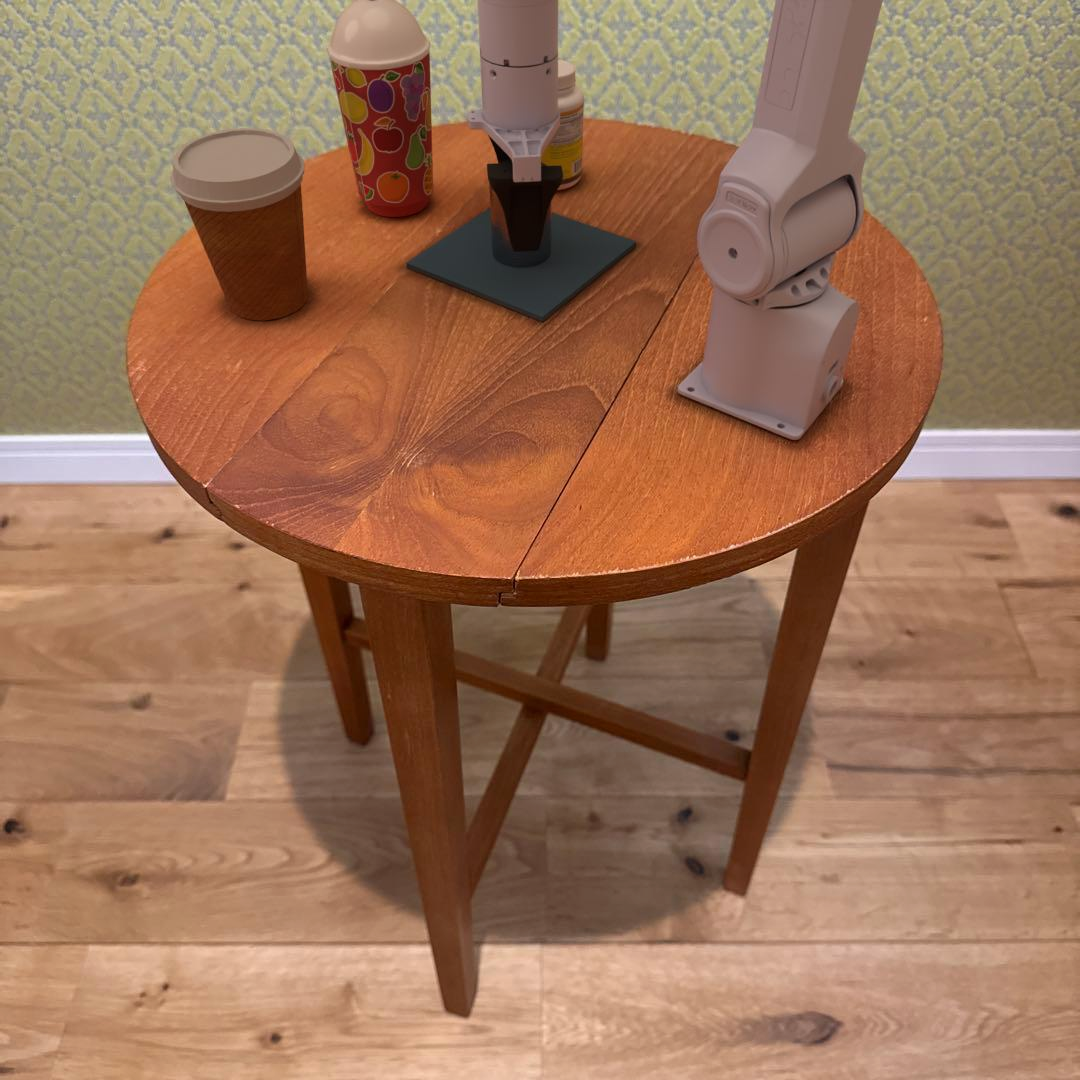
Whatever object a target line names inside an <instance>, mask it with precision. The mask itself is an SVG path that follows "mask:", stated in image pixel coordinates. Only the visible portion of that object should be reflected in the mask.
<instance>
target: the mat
mask: <svg viewBox="0 0 1080 1080" xmlns="http://www.w3.org/2000/svg"><path fill="white" fill-rule="evenodd" d="M635 248H637V241H636V240H633V239H630V238H629V237H624V236H621V235H619V234H616V233H614V232H610V231H607V230H605V229H601V228H598V227H596V226H593V225H590V224H588V223H587V224H586V223H584V222H581V221H579V220H575V219H572V218H570V217H567V216H564V215H560V214H557V213H554V212H552V211H551V255H550V257H549V258H548V259H547V260H546V261H544V262H543V263H541V264H538V265H535V266H531V267H512V266H507V265H504V264H502V263H500V262H498V261H497V260H496V259H495V258H494V256H493V254H492V236H491V214H490V207H488V208H487V209H485V210H483V211H482V212H481V213H479V214H478V215H476V216H474V217H473V218H472V219H470V220H469V221H467V222H466V223H464V224H462V225H460V226H459V227H458V228H457V229H455V230H453V231H452V232H450V233H449V234H448V235H446V236H444V237H443V238H442V239H440V240H438V241H436V242H435V243H434V244H433V245H431V246H429V247H428V248H426V249H424V250H423V251H422V252H420V253H419V254H417V255H416V256H414V257H413V258H411V259H410V260H408V261H406V263H405V264H406V268H407V269H408V270H411V271H414V272H416V273H419V274H422V275H424V276H426V277H429V278H432V279H433V280H436V281H439V282H442V283H445V284H447V285H449V286H452V287H454V288H457V289H459V290H462V291H464V292H467V293H470V294H471V295H475V296H477V297H479V298H481V299H484V300H487V301H488V302H489V301H490V302H492V303H494V304H496V305H499V306H501V307H504V308H506V309H509V310H511V311H514V312H516V313H519V314H521V315H524V316H526V317H529V318H532V319H534V320H536V321H539V322H542V323H543V322H545V321H547V319H548V318H550V317H551V316H552V315H553V314H555V312H557V311H558V310H560V309H561V308H562V307H563V306H564V305H565V304H567V303H568V302H569V301H570V300H572V299H573V298H574V297H575V296H577V295H578V294H580V293H581V292H582V291H583V290H584V289H586V287H588V286H589V285H590V284H591V283H593V282H594V281H595V280H596V279H598V278H599V277H600V276H601V275H603V274H604V273H605V272H606V271H607V270H609V269H610V268H611V267H612V266H614V265H615V264H616V263H617V262H619V261H620V260H621V259H622V258H623V257H625V256H626V255H627V254H629V253H630V252H631V251H632V250H634V249H635Z"/></svg>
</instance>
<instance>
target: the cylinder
mask: <svg viewBox="0 0 1080 1080" xmlns="http://www.w3.org/2000/svg"><path fill="white" fill-rule="evenodd" d="M499 163H512V160H511V159H510V160H505V161H502V162H499ZM541 166H547V165H546V164H544V163H542V162H541ZM488 187H489V188H488V189H489V191H488V192H489V208H490V214H491V236H492V254H493V256H494V258H495V259H496V260H497V261H498V262H500V263H502V264H504V265H507V266H512V267H531V266H535V265H538V264H541V263H543V262H544V261H546V260H547V259H548V258H549V257H550V255H551V212H552V202H551V203H550V206H549V209H548V212H547V216H546V221H545V226H544V231H543V236H542V240H541V244H540V247H539V250H537V251H521V252H514V251H513V249H512V246H511V243H510V239H509V235H508V230H507V225H506V220H505V216H504V212H503V209H502V206H501V203H500V201H499V199H498V197H497V195H496V193H495V192H494V190H493V189H492V187H491V185H490V183H489V182H488Z"/></svg>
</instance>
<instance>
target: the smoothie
mask: <svg viewBox="0 0 1080 1080" xmlns="http://www.w3.org/2000/svg"><path fill="white" fill-rule="evenodd" d="M430 49H431V41H430V40H429V39H428V37H427V35H425V34H424V32H423V30H422V28H421V26H420V24H419V22H418V21H417V19H416V18H415V16H414V15H413V14H412V12H411V11H410V10H409V9H408V8H407V7H406V6H405V5H403V4H402V3H400V2H399V1H397V0H354V1H352V2H351V3H350V4H349V5H347V6H346V7H345V8H344V9H343V11H342V12H341V13H340V15H339V16H338V18H337V20H336V23H335V25H334V27H333V32H332V34H331V40H330V41H329V43H328V44H327V47H326V52H327V54H328V57H329V63H330V68H331V72H332V77H333V82H334V86H335V91H336V95H337V100H338V104H339V109H340V115H341V118H342V119H341V120H342V123H343V128H344V133H345V137H346V142H347V146H348V152H349V157H350V160H351V165H352V166H351V167H352V171H353V174H354V179H355V185H356V189H357V193H358V195H359V198H360V199H362V200H363V201H364V202H365V204H366V207H367V210H369V211H370V212H371V213H373V214H375V215H378V216H381V217H388V218H403V217H408V216H411V215H414V214H417V213H419V212H421V211H422V210H424V209H425V207H426V206H428V204H429V196H430V195H431V194H432V193H433V191H434V167H433V166H434V165H433V163H434V162H433V129H432V128H433V127H432V124H433V123H432V122H433V121H432V90H431V89H432V88H431V56H430V54H431V53H430Z"/></svg>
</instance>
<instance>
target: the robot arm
mask: <svg viewBox="0 0 1080 1080" xmlns="http://www.w3.org/2000/svg"><path fill="white" fill-rule="evenodd" d="M476 2H477V18H478V22H477V23H478V40H479V41H478V42H479V59H480V60H479V64H480V81H481V83H480V85H481V100H482V101H481V104H482V108H480V109H471V110H469V111H467V127H468V129H471V130H475V131H476V130H481V131H483V132H485V133H486V135H487V136H488V138H489V141H490V142H491V145H492V147H493V150H494V153H495V156H496V160H497V163H495V162H493V163H487V164H486V170H487V171H486V174H487V180H488V184H489V183H490V185H491V187H492V189H493V190H494V192H495V193H496V195H497V197H498V199H499V201H500V203H501V206H502V209H503V212H504V216H505V220H506V225H507V230H508V235H509V239H510V243H511V246H512V249H513V251H514V252H521V251H537V250H539V247H540V244H541V240H542V236H543V231H544V226H545V221H546V216H547V212H548V209H549V206H550V203H551V204H552V201H553V198H554V197H555V195H556V194H557V191H559V190H558V188H559V187H560V185H561V182H562V179H563V171H562V166H561V165H559V166H541V156H542V154H543V152H544V151H545V149H546V148H547V146H548V144H549V143H550V141H551V139H552V138H553V136H554V134H555V133H556V131H557V129H558V128H559V126H560V111H559V109H558V60H559V0H477V1H476ZM883 3H884V0H775V3H774V7H773V13H772V19H771V24H770V30H769V34H768V40H767V44H766V45H767V46H766V51H765V55H764V61H763V66H762V72H761V78H760V84H759V88H758V94H757V99H756V105H755V110H754V116H753V121H752V127H751V129H750V130H749V132H748V133H747V135H746V136H745V138H744V139H743V141H742V142H741V143H740V145H739V146H738V148H736V150H735V152H734V153H733V155H732V156H731V158H730V159H729V160H728V162H727V163H726V165H725V166H724V167H723V169H722V170H721V172H720V174H719V178H718V184H717V189H716V193H715V196H714V199H713V201H712V202H711V204H710V205H709V207H708V208H707V209H706V210H705V212H704V213H703V215H702V217H701V218H700V220H699V224H698V227H697V232H696V233H697V234H696V244H697V245H696V246H697V253H698V256H699V257H698V258H699V259H700V264H701V266H702V268H703V270H704V272H705V274H706V275H707V276H708V278H709V284H710V285H711V286H712V287H713V291H712V297H711V303H710V304H711V305H710V311H709V318H708V326H707V331H706V339H705V345H704V346H705V347H704V352H703V359H702V361H701V362H700V363H699V364H697V366H696V367H695V368H694V369H693V370H692V371H691V372H690V373H689V374H688V375H687V376H686V377H685V378H684V379H683V380H682V381H681V382H680V383H679V384H678V385H677V393H678V394H679V395H681V396H684V397H685V398H688V399H691V400H693V401H695V402H698V403H700V404H703V405H705V406H708V407H710V408H712V409H715V410H718V411H720V412H722V413H725V414H727V415H730V416H733V417H735V418H736V419H737V418H738V419H739V420H742V421H745V422H747V423H750V424H752V425H754V426H757V427H759V428H761V429H765V430H766V431H769V432H772V433H774V434H776V435H778V436H781V437H784V438H786V439H789V440H790V441H797V440H800V439H801V438H802V437H803V436H804V435H805V434H806V432H807V431H808V430H809V428H810V427H811V426H812V424H813V423H814V422H815V421H816V420H817V418H818V417H819V416H820V414H821V413H822V412H823V411H824V409H825V408H826V407H827V406H828V404H829V403H830V402H831V401H832V399H833V398H834V397H835V396H836V395H837V393H838V392H839V391H840V390H841V388H842V387H843V384H844V379H843V376H844V373H845V369H846V365H847V361H848V357H849V354H850V350H851V346H852V343H853V340H854V335H855V332H856V328H857V325H858V324H857V323H858V321H859V316H860V302H859V301H857V300H855V299H854V298H852V297H850V296H848V295H846V294H845V293H843V292H842V291H840V290H839V289H838V288H836V286H834V285H833V284H832V283H831V282H830V281H829V280H830V279H829V278H830V272H831V270H832V269H833V266H834V262H835V257H836V254H837V252H838V251H840V250H842V249H844V248H845V247H846V246H848V245H849V244H850V243H851V242H852V241H854V239H855V238H856V236H857V235H858V233H859V231H860V229H861V227H862V223H863V221H864V216H865V215H864V214H865V201H864V196H863V195H864V194H863V189H862V177H863V175H862V174H863V170H864V166H865V163H866V158H867V152H866V151H865V150H864V148H863V147H862V146H861V145H860V144H859V143H858V142H857V141H856V140H855V139H854V138H853V137H852V136H851V135H850V134H849V132H850V128H851V124H852V120H853V117H854V112H855V109H856V104H857V101H858V97H859V93H860V89H861V86H862V82H863V78H864V74H865V71H866V66H867V63H868V59H869V54H870V52H871V48H872V44H873V39H874V36H875V32H876V28H877V25H878V20H879V17H880V13H881V10H882V5H883ZM510 159H511V160H512V163H499V162H502V161H505V160H510Z"/></svg>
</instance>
